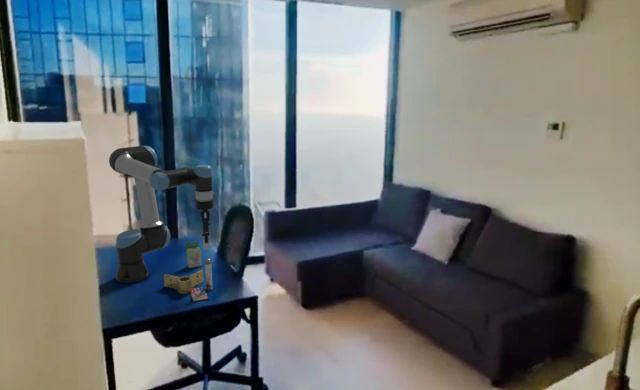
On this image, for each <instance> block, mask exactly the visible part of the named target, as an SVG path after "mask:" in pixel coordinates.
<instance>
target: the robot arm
mask: <svg viewBox="0 0 640 390" xmlns="http://www.w3.org/2000/svg"><path fill="white" fill-rule="evenodd" d="M108 163H109V166H110V168H111V169H112V170H113V171H114V172H116V173H119V174H120V175H126V174H127V175H129V176H132V177H133V179H134V184H135V190H136V191H135V192H136V195H137V200H138V208H139V213H140V218H141V224H140V226H139V229H128V230H125V231H123V232H120V233H119V234H117V237H115V238H116V241H115V246H116V254H117V269H116V273H115V281H116V282H118V283H121V284H133V283H138V282H141V281H143V280H147V278H148V277H149V270H148V267H147V266H146V263H145V262H144V255H146V254H149V253H152V252H156V251H159V250H162V249H164V248H166V247H168V245H169V244H170V241H171V232H170V229H169V228H168V226H166V225H164V222H163V221H162V220H160V214H159V208H158V203H157V197H156V191H163V190H167V189H172V188H176V187H181V186H187V185H192V186H194V188H195V190H194V193H195V199H196V200H195V205H196V206H195V207H196V209H197V210H200V217H201V222H202V233H201V237H202V239H203V240H202V242H203V250H204V251H206V250H211V243H210V241H211V240H210V226H211V223H210V215H211V214H210V211H209V210H211V209H213V208H214V199H213V198H214V194H215V192H214V191H213V190H214V189H213V172H212V171H213V170H212V166H211V165H209V164H198V165H195V166H194V168H193V167H188V166H181V167H178V168H177V169H172V170H164V169H162V168H159V167H157V165H158V156H157V153H156V152H155V150H154V148H152V147H151V146H149V145H137V146H129V147H128V146H127V147H126V146H125V147H120V148H116V149H115V150H113V151H112V153H111V154H110V155H109V158H108ZM201 210H202V211H201Z"/></svg>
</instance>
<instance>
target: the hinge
mask: <svg viewBox="0 0 640 390" xmlns="http://www.w3.org/2000/svg"><path fill="white" fill-rule="evenodd" d="M163 281H164V287H165V288H168V287H169V288H170V289H173V288H174V289H173V290H177V293H178V292H179V293H178V294H180V295H188V294H189V292H191V291H193V289H194V287H197V286H199V285H200V284H201V283H203V282H204V269H200V270H197V271H196V272H194V273H192V274H189V275H183V276H176V275H173V274H172V275H171V274H166V273H165V274H163ZM196 285H197V286H196ZM187 293H188V294H187Z"/></svg>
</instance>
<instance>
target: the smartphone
mask: <svg viewBox="0 0 640 390" xmlns="http://www.w3.org/2000/svg"><path fill="white" fill-rule="evenodd" d="M189 293H190V294H189ZM189 293H188V294H189V296H190V299H191V302H192V301H193V302H192V303H197V302H196V301H199V302H203V301H202V300H205V301H209V300H210V297H209V294H208V292H207V290H206V286H204V285H202V286H201V285H200V286H195V287H194V289H193V291H191V292H189ZM208 299H209V300H208Z"/></svg>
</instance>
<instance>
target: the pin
mask: <svg viewBox="0 0 640 390" xmlns="http://www.w3.org/2000/svg"><path fill="white" fill-rule="evenodd" d="M212 271H213V267H212V258H210V257H208V258H207V257H206V258H204V275H205V289H206V291H212V290H213V288H214V287H213V272H212Z"/></svg>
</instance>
